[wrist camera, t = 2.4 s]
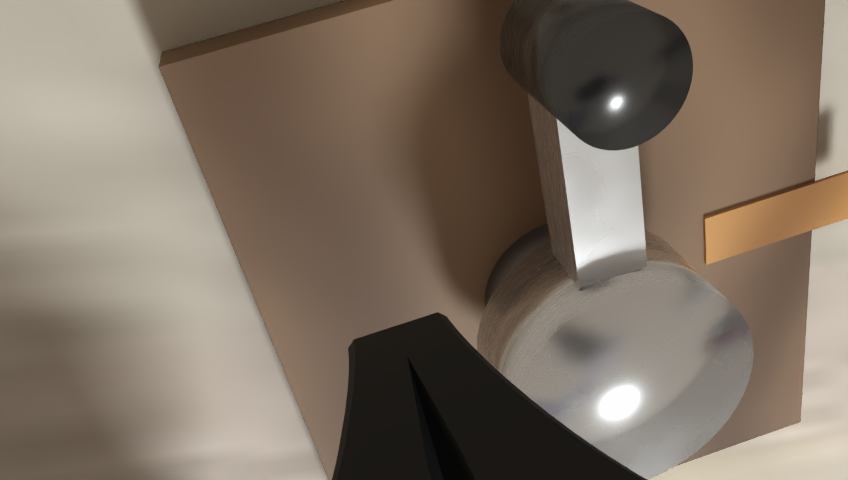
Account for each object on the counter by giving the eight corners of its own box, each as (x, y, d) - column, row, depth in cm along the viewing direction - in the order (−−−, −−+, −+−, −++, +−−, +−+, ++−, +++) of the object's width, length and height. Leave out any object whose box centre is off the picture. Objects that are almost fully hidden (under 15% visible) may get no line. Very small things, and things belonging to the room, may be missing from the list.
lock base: (362, 546, 27) (377, 617, 24) (162, 52, 17) (153, 89, 15) (816, 386, 28) (871, 439, 26) (854, -144, 19) (945, -137, 17)
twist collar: (694, 374, 22) (774, 467, 19) (497, 442, 21) (545, 549, 18) (676, -67, 16) (791, -37, 13) (397, 13, 15) (445, 65, 12)
